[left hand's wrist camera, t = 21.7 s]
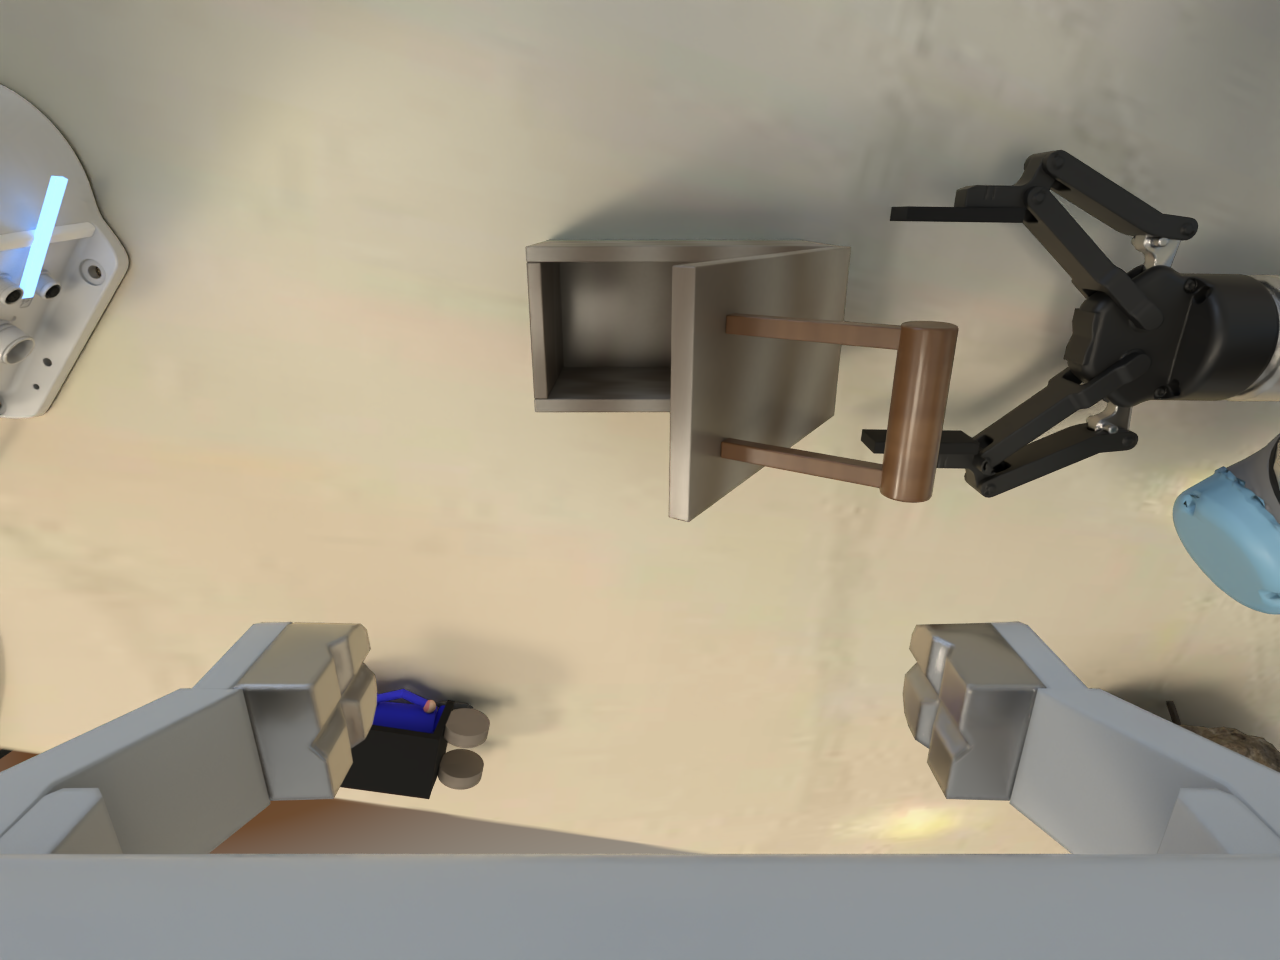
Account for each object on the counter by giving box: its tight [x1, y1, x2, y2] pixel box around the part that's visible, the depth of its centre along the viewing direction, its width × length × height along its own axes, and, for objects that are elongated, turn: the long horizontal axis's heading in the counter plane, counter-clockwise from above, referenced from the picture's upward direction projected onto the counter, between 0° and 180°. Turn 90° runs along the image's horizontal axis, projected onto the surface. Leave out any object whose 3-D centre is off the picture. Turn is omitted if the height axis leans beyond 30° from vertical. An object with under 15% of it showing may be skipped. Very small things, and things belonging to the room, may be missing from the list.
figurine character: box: [340, 689, 490, 799], centre depth 58 cm, size 7×8×15 cm
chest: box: [526, 240, 836, 412], centre depth 44 cm, size 17×9×10 cm, turn 90°
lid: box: [669, 246, 958, 522], centre depth 30 cm, size 18×9×9 cm
